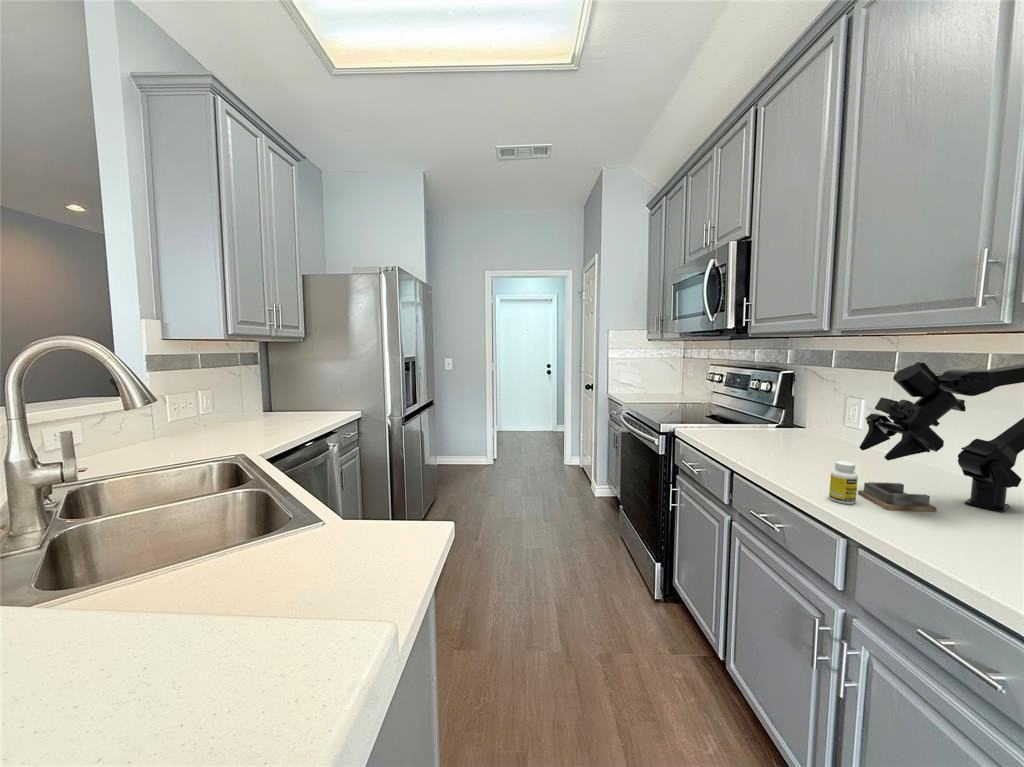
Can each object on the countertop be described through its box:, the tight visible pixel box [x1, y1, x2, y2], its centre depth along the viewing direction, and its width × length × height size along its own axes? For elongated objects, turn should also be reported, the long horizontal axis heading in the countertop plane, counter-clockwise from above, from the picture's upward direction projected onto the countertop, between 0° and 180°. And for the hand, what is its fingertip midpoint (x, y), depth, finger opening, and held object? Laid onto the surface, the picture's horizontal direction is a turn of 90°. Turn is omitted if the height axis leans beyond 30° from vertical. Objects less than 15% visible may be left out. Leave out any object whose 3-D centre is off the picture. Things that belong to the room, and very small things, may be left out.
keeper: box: [857, 481, 938, 513], centre depth 108 cm, size 11×11×4 cm
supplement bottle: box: [828, 460, 859, 505], centre depth 110 cm, size 5×5×10 cm
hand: (872, 453), depth 108 cm, fingers open, 9 cm apart
